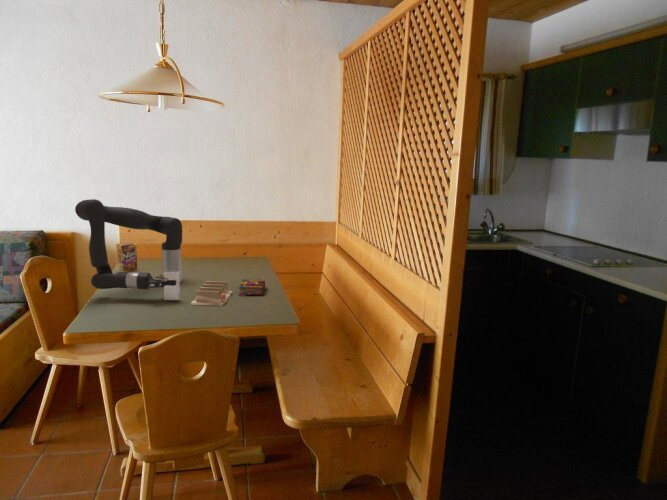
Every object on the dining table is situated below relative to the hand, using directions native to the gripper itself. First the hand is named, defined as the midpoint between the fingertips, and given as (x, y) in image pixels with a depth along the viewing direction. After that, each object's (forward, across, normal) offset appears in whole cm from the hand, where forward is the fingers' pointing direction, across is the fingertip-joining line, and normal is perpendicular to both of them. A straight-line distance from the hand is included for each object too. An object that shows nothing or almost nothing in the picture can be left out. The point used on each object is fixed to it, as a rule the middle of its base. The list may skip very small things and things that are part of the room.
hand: (176, 281), depth 232 cm
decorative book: (+31, +19, +10) cm, 37 cm away
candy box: (-44, +53, +10) cm, 70 cm away
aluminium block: (-2, 0, +8) cm, 8 cm away
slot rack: (+15, +5, +9) cm, 18 cm away
